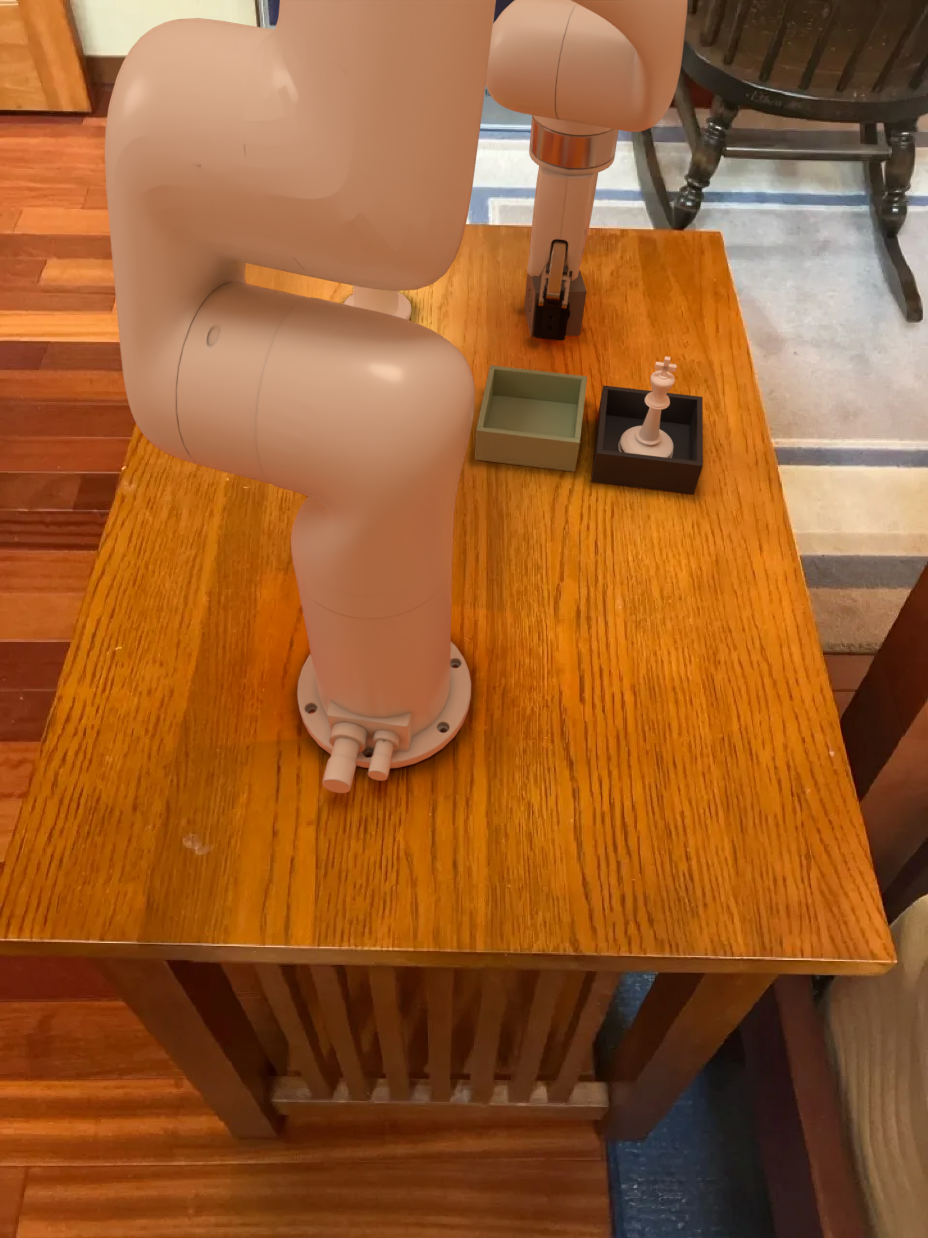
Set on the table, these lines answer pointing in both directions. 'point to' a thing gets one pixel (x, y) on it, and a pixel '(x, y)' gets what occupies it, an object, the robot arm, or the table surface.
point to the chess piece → (652, 418)
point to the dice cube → (574, 298)
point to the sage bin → (531, 418)
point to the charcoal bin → (648, 471)
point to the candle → (380, 301)
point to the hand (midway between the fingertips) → (552, 316)
